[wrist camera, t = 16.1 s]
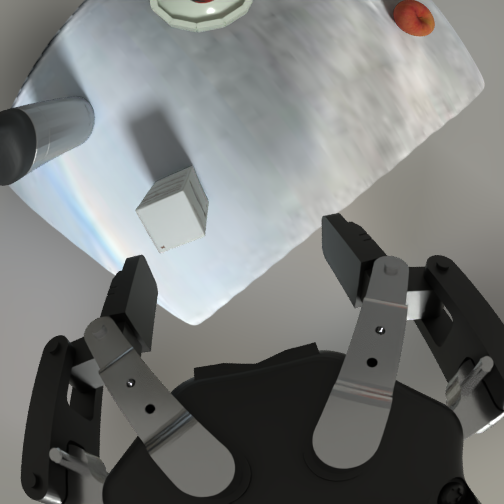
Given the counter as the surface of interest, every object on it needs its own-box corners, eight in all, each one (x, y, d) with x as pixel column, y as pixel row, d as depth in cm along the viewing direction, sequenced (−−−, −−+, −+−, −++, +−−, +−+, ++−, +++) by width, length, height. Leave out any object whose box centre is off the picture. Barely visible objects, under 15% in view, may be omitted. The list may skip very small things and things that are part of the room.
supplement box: (210, 202, 47) (206, 238, 37) (171, 216, 48) (158, 255, 37) (193, 163, 43) (184, 189, 33) (153, 180, 44) (133, 211, 33)
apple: (422, 30, 31) (449, 27, 24) (401, 43, 33) (428, 40, 26) (401, -1, 27) (426, -8, 21) (377, 11, 30) (402, 3, 23)
